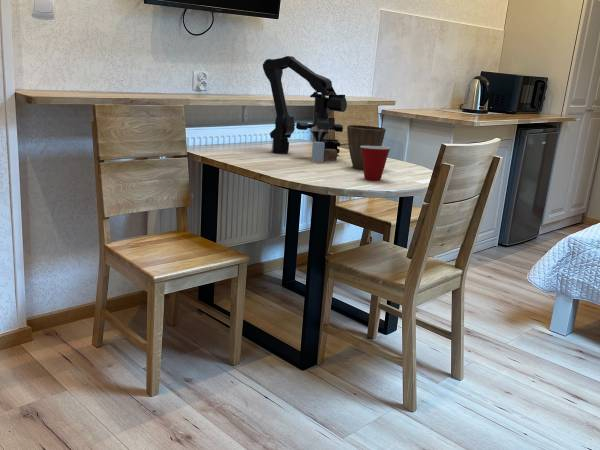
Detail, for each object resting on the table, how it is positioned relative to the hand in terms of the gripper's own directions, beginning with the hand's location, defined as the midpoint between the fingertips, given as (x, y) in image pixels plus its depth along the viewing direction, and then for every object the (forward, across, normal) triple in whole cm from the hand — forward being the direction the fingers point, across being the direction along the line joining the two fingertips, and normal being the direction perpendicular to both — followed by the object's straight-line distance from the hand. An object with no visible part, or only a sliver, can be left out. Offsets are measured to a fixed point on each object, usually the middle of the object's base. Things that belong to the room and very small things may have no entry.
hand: (317, 147), depth 246 cm
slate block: (+5, -2, -9) cm, 10 cm away
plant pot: (+5, +14, -19) cm, 24 cm away
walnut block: (+3, 0, 0) cm, 3 cm away
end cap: (+5, +7, +12) cm, 15 cm away
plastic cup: (+5, +11, -41) cm, 43 cm away
